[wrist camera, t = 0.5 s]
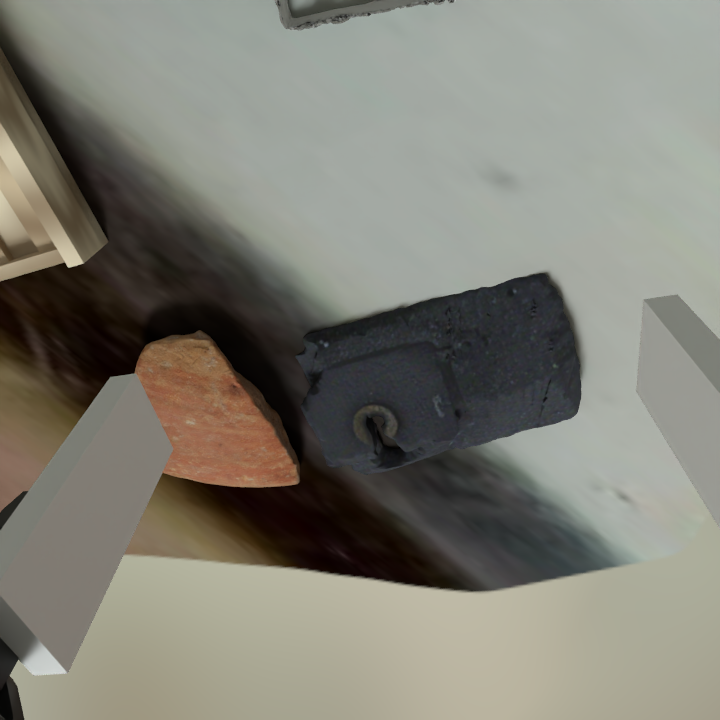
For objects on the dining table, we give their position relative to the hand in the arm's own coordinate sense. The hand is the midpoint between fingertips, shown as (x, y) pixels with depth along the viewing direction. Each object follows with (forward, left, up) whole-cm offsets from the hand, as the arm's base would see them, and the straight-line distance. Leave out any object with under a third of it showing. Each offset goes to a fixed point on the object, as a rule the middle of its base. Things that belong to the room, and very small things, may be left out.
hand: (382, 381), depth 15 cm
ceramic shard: (+16, -19, -27) cm, 37 cm away
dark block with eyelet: (+19, -1, -27) cm, 33 cm away
